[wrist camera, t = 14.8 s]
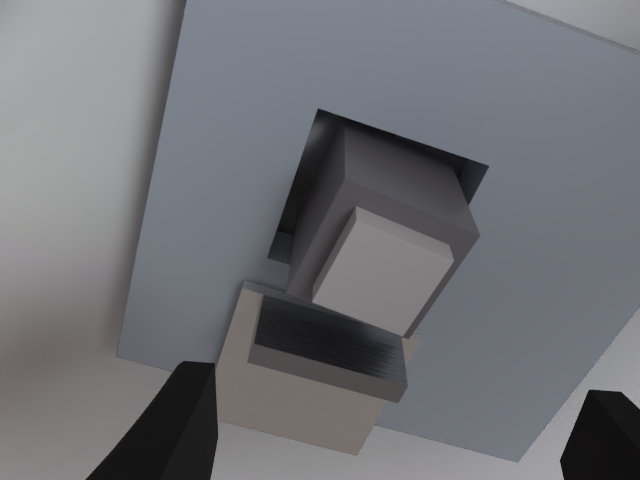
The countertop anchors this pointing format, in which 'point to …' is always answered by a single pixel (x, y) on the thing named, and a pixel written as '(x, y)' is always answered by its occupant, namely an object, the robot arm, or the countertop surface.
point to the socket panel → (428, 128)
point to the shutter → (307, 370)
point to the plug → (379, 230)
